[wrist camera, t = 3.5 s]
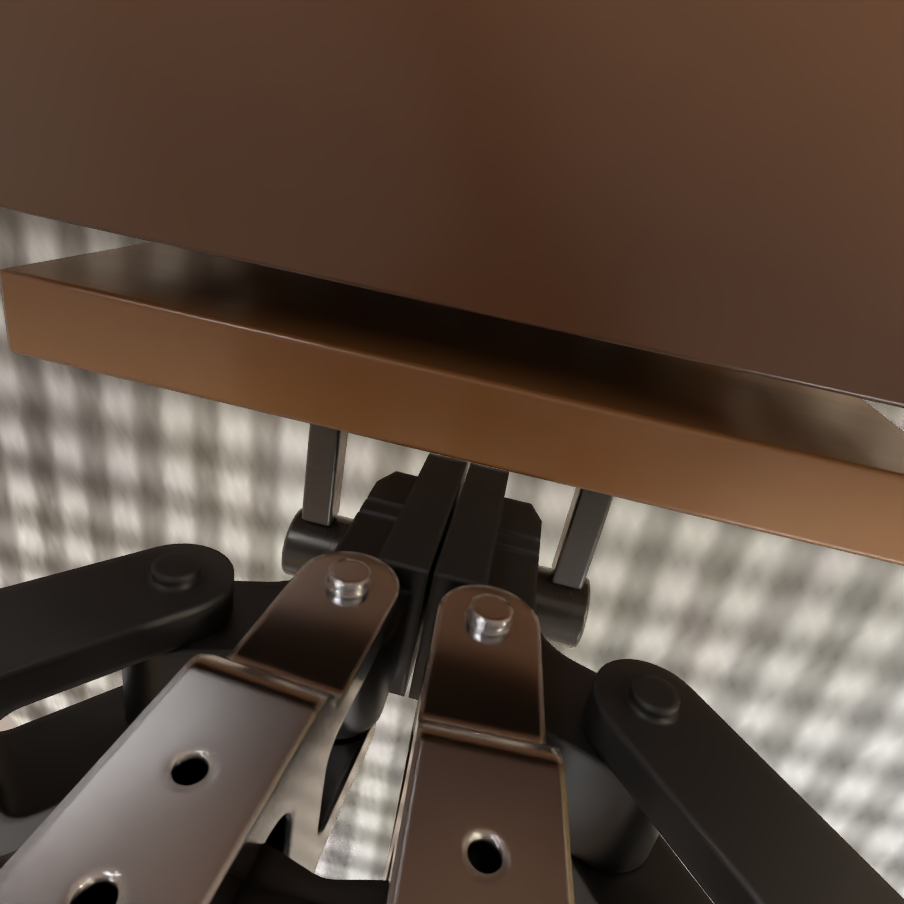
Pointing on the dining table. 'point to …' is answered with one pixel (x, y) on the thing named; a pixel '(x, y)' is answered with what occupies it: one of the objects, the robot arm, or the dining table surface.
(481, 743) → the robot arm
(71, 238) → the dining table surface
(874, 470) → the drawer
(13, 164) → the cabinet
